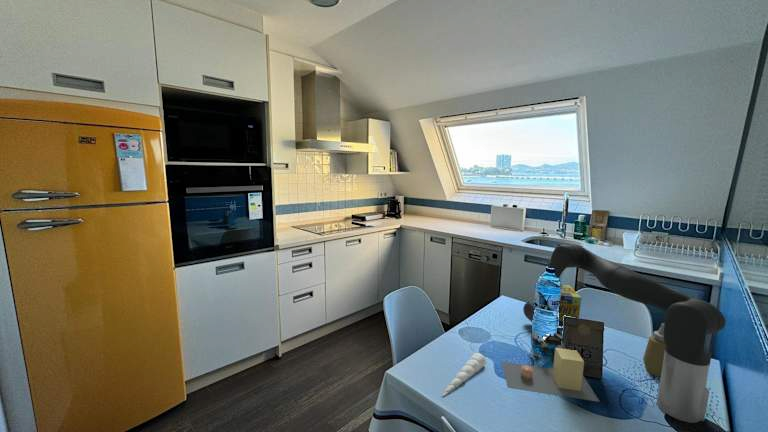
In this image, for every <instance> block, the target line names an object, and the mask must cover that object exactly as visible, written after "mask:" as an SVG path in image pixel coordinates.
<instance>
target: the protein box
mask: <svg viewBox="0 0 768 432" xmlns="http://www.w3.org/2000/svg"><path fill="white" fill-rule="evenodd" d="M560 285H561V289H562V291H561V300H560V306H559V326H561V327H562V326H563V316H564V315H566V316H571V317H576V318H579V319H580V313H581V312H580V311H581V306H582V305H581V304H582V303H581V302H582V296H580V294H579V293H577V291H575V290H574V288H573V287H572V286H571V285H566V284H560Z"/></svg>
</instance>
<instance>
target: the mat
mask: <svg viewBox="0 0 768 432" xmlns="http://www.w3.org/2000/svg"><path fill="white" fill-rule="evenodd" d="M523 365H524V364H523V363H514V362H508V361H501V366H502V369H503V374H504V378H505V381H506V386H507V388H509V389H515V390H521V391H528V392H534V393H539V394H540V393H541V394H546V395H553V396H554V395H555V396H559V397H564V398H565V397H566V398H573V399H579V400H586V401H590V402H591V401H593V402H598V403H600V402H601V401H600V399H599V398H598V397H597V395H596V394H595V392H594V390H593V389H592V387H591V385H590V384H589V382H588V381H587V379H586V377H585V376H584V375H583V377H582V385H581V391H577V390H571V389H564V388H558V386H557V384H556V382H555V379H554V377H553V375H552V374H553V368H551V367H543V366H536V365H528V364H526V365H527V366H530V367H531V368H533V378H532V380H525V379H523V378H522V377H521V367H522V366H523Z"/></svg>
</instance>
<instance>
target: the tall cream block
mask: <svg viewBox="0 0 768 432" xmlns="http://www.w3.org/2000/svg"><path fill="white" fill-rule="evenodd" d="M584 367H585V361H584V359H583V358H582V356H581V355H580V353H579V351H578V349H577V350H570V349H566V348H564V349H563V348H561V347H555V348H554V357H553V365H552V369H553V374H552V375H553V377H554V379H555V382H556V384H557V386H558V388H564V389H571V390H577V391H581V385H582V377H583V376H584V375H583V374H584Z"/></svg>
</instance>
